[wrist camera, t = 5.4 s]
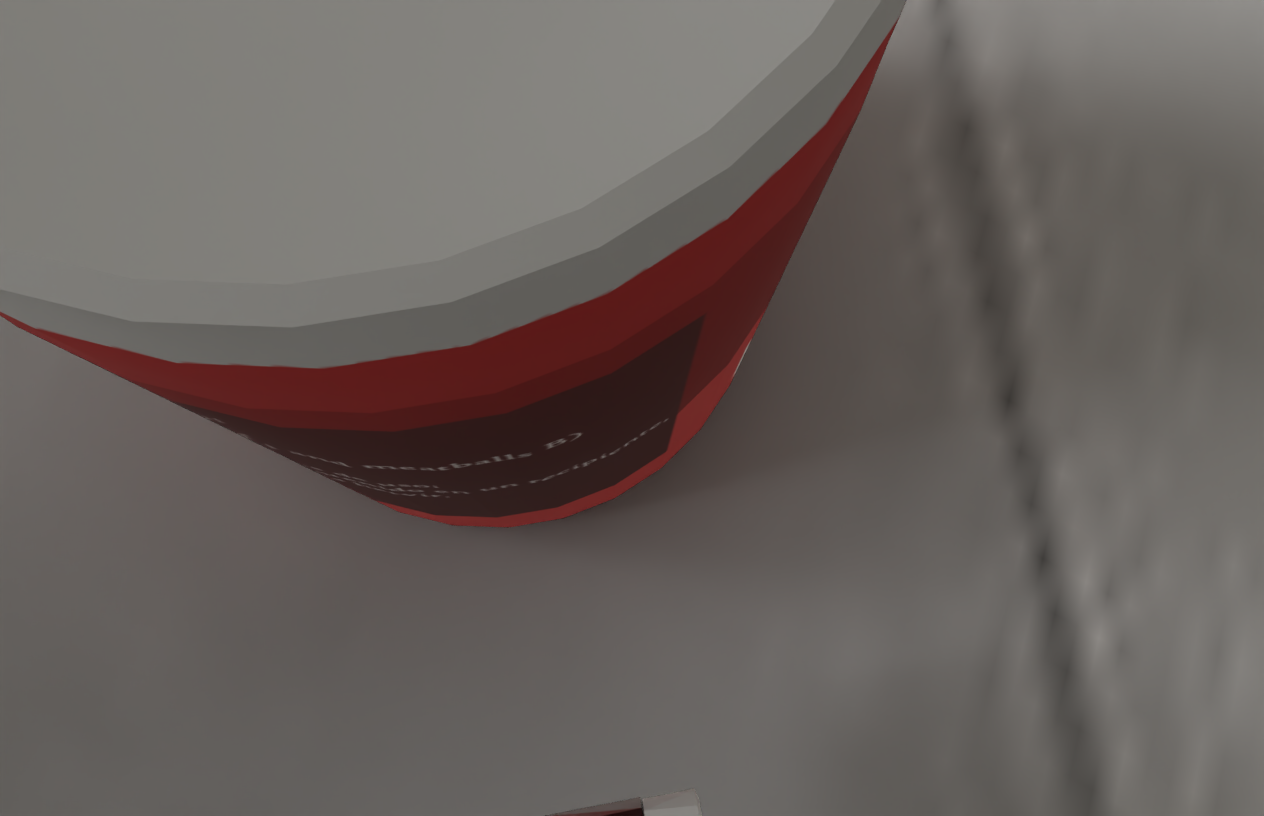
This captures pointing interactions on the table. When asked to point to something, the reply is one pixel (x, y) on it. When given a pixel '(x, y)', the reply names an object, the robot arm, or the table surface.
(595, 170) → the canned food
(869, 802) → the table surface
